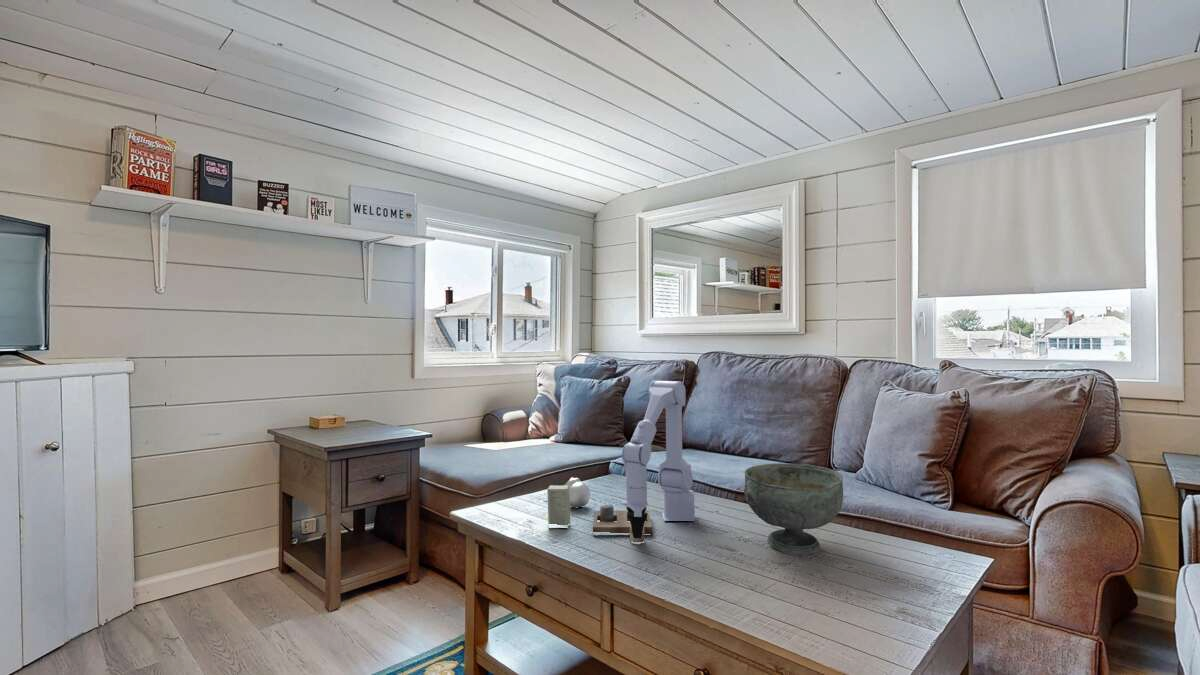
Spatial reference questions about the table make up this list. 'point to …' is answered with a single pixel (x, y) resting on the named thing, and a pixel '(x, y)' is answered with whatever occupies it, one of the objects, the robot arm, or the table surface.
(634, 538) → the birch peg
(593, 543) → the table surface
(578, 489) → the ghost figurine
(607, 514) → the pocket board
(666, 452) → the robot arm
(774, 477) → the decorative bowl
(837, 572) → the table surface
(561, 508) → the skincare box
